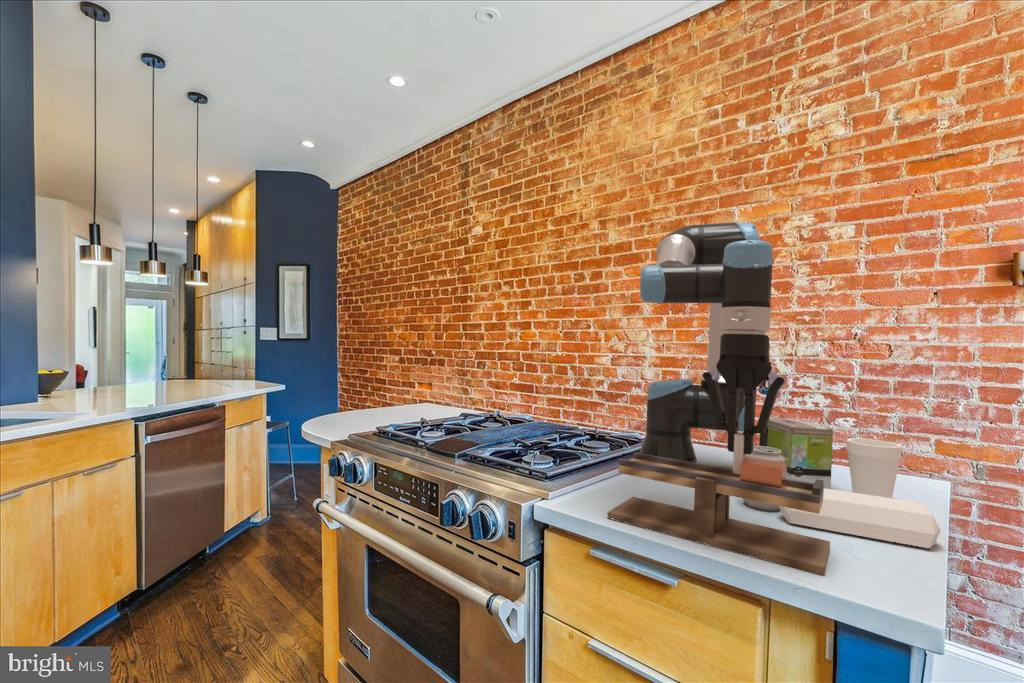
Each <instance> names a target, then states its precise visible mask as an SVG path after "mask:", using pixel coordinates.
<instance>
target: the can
mask: <svg viewBox="0 0 1024 683" xmlns="http://www.w3.org/2000/svg"><path fill="white" fill-rule="evenodd" d="M781 452H782V451H781V450H779V449H776V448H772V447H765V446H760V445H753V452H752V453H751V454H750V455H749V454H746V457H752V458H759V459H765V460H771V461H777V462H784V463H785V458H784V457H783V456H782V455H781ZM742 500H743V501H744V502H745V504H746V505H747V506H748V507H750V508H753V509H756V510H761V511H764V512H766V511H767V512H775V511H776V512H777V511H780V508H779V506H778V505H773V504H768V503H763V502H758V501H753V500H749V499H744V498H742Z"/></svg>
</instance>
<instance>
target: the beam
mask: <svg viewBox="0 0 1024 683" xmlns="http://www.w3.org/2000/svg"><path fill="white" fill-rule="evenodd" d="M632 456H633V457H632V458H630V459H625V458H619V459H618V469H617V470H618V472H617V473H618V474H623V475H628V476H633V477H636V478H637V477H638V478H642V479H647V480H652V481H656V482H662V483H667V484H671V485H676V486H681V487H685V488H686V487H687V488H692V489H695V478H696V477H702V478H707V479H712V480H716V493H719V494H724V495H729V496H730V497H735V498H741V499H743V498H744V499H749V500H753V501H758V502H763V503H768V504H773V505H778V506H783V507H788V508H793V509H797V510H802V511H807V512H812V513H817V514H819V512H820V509H821V506H822V503H823V492H824V485H823V480H818V479H816V481H815V483H808V482H802V481H797V480H791V479H786V488H785V489H782V488H777V487H771V486H766V485H761V484H755V483H750V482H744V481H740V474H737V473H733V468H731V469H728V468H729V467H728V468H722V467H723V466H722V467H716V466H717V465H716V466H713V465H710V464H703V463H699V462H697V463H693V462H687V461H682V460H676V459H670V458H664V457H659V456H653V455H647V454H641V453H639V452H633V453H632Z"/></svg>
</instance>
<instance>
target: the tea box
mask: <svg viewBox="0 0 1024 683" xmlns="http://www.w3.org/2000/svg"><path fill="white" fill-rule="evenodd" d="M833 435H834V430H833V428H832V427H828V426H823V425H820V424H816V423H812V422H809V421H803V420H800V419H797V418H796V419H795V418H780V417H779V418H775V417H774V418H773V417H770V419H769V422H768V425H767V428H766V430H765V431H764V432H762V433H759V446H765V447H772V448H776V449H779V450H781V451H782V452H781V455H782V456H783V457H784V458H785V463H787V470H786V479H791V480H797V481H802V482H808V483H815V481H816V479H818V480H823V485H824V488H826V489H831V487H832V468H833V466H832V465H833V462H832V461H833V440H834V436H833Z"/></svg>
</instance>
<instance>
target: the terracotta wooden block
mask: <svg viewBox="0 0 1024 683" xmlns="http://www.w3.org/2000/svg"><path fill="white" fill-rule="evenodd" d="M786 470H787V463H784V462H777V461H771V460H765V459H759V458H752V457H746V458H745V459H744V460H743V461H741V473H740V481H744V482H750V483H755V484H761V485H766V486H771V487H777V488H782V489H785V488H786Z"/></svg>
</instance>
